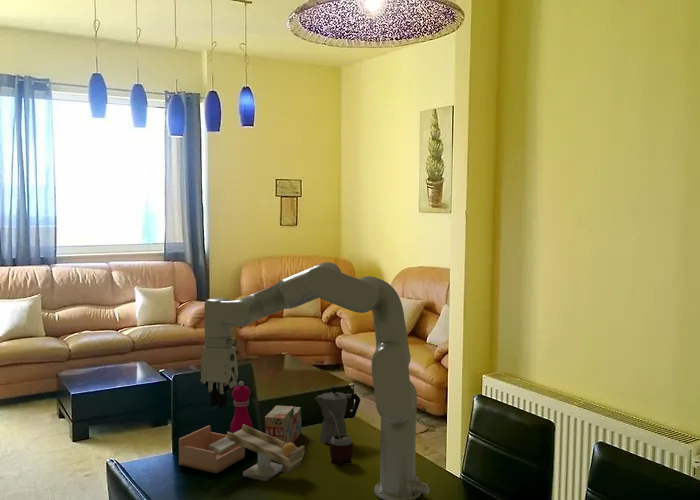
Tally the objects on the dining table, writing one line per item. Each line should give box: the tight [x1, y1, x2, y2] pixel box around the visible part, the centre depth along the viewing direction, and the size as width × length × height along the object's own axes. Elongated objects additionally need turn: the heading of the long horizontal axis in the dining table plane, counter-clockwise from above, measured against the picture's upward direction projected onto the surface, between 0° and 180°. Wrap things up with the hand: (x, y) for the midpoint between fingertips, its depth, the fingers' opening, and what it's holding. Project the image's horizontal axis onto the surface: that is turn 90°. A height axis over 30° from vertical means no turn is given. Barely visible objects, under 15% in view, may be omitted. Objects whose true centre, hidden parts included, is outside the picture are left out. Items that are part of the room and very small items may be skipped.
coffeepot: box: [313, 386, 361, 445], centre depth 222 cm, size 15×9×18 cm, turn 95°
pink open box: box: [178, 425, 246, 474], centre depth 204 cm, size 14×14×8 cm
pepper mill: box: [229, 380, 253, 433], centre depth 222 cm, size 7×7×20 cm
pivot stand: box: [242, 453, 283, 482], centre depth 195 cm, size 8×10×6 cm
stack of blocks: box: [264, 405, 302, 444], centre depth 219 cm, size 21×6×12 cm, turn 169°
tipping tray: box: [209, 424, 305, 474], centre depth 191 cm, size 22×16×6 cm
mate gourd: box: [329, 410, 354, 468], centre depth 203 cm, size 8×8×15 cm
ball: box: [283, 443, 298, 457], centre depth 191 cm, size 4×4×4 cm
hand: (218, 405), depth 190 cm, fingers closed
